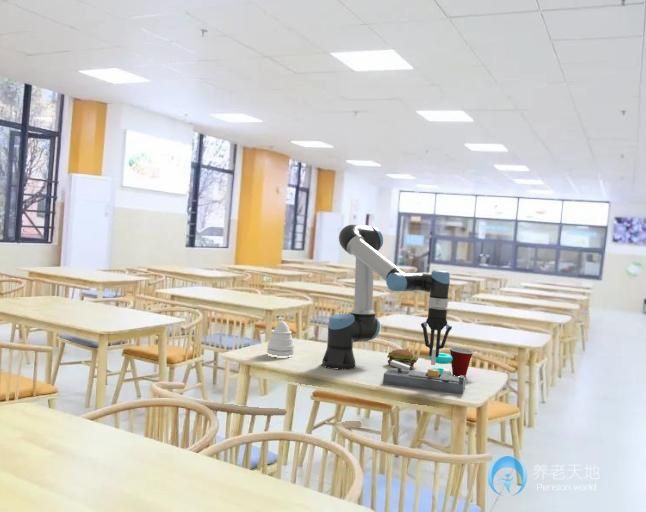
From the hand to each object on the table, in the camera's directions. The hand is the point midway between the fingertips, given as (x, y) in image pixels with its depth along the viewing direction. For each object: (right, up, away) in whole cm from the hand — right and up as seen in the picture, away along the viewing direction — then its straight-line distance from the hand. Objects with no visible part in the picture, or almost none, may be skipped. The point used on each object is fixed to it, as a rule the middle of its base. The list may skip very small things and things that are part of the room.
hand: (433, 364), depth 250 cm
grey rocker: (-13, -1, +4) cm, 14 cm away
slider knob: (+4, -4, -8) cm, 10 cm away
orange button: (0, -7, 0) cm, 7 cm away
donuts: (+6, -9, +15) cm, 18 cm away
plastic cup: (+16, -9, +20) cm, 27 cm away
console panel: (-4, -8, -2) cm, 9 cm away
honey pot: (-66, -3, +39) cm, 77 cm away
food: (-9, -7, +32) cm, 34 cm away
